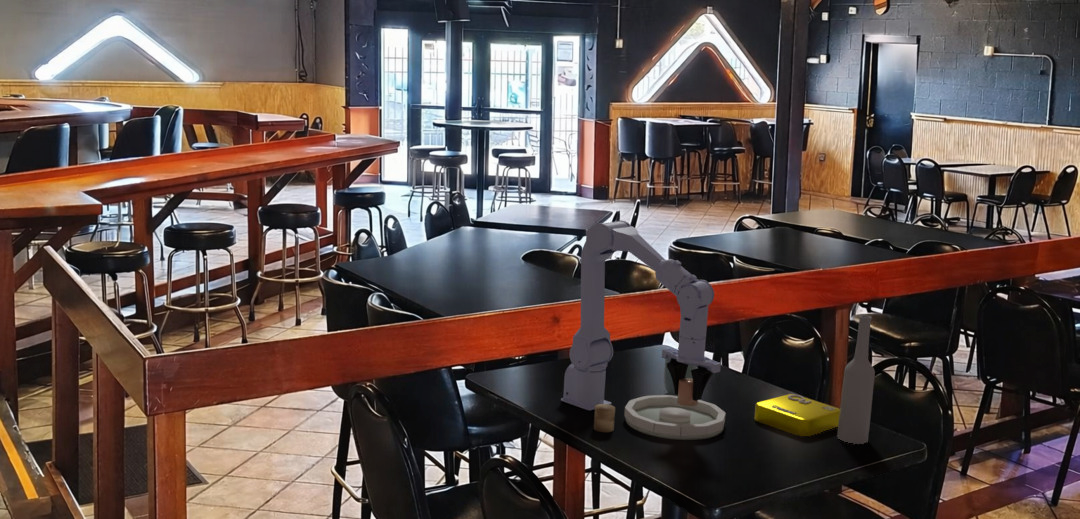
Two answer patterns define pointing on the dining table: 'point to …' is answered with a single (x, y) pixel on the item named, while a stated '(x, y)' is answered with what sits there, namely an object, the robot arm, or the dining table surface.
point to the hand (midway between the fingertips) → (687, 396)
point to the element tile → (797, 415)
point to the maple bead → (604, 418)
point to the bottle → (857, 390)
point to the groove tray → (674, 418)
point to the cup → (668, 378)
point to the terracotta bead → (686, 392)
